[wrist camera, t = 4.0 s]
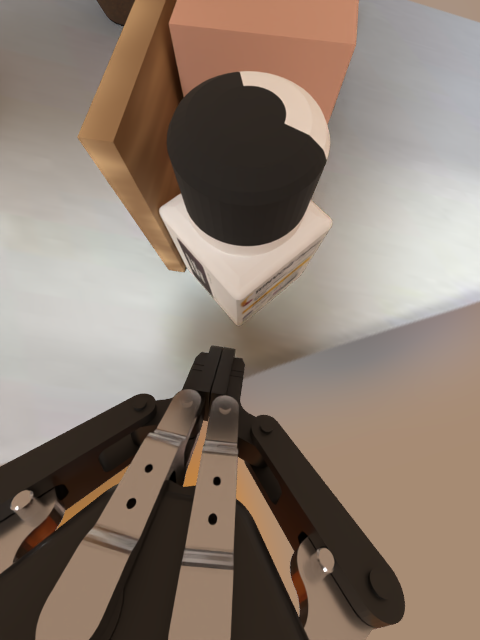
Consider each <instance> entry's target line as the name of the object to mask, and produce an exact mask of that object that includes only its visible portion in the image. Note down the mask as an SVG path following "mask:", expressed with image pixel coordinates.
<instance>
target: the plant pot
mask: <svg viewBox="0 0 480 640" xmlns="http://www.w3.org/2000/svg"><path fill="white" fill-rule="evenodd" d="M97 1H98V3H99V5H100V6H101V8H102V9H103V11H104V12H105V14H106V15H107V17H108V18H109V19H111V20H112V21H114V22H116V23H119V24H122V25H125V23H126V21H127V18H128V16H129V14H130V11H131V9H132V7H133V4H134V2H135V0H97Z"/></svg>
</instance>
